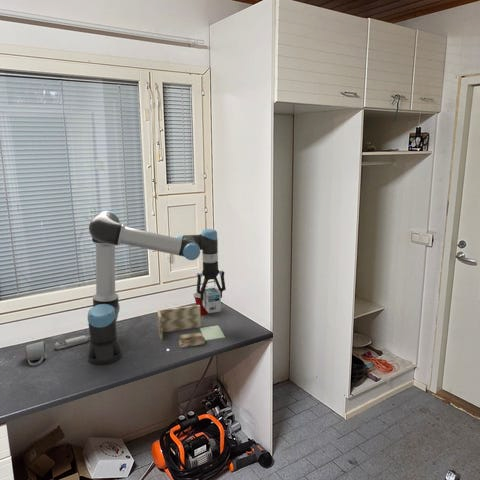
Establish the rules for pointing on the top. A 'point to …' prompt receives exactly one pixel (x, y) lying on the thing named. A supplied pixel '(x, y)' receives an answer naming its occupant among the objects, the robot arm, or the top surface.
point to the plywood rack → (178, 319)
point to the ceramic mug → (35, 352)
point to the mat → (212, 333)
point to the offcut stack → (191, 340)
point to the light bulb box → (212, 299)
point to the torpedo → (72, 342)
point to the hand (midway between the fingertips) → (211, 304)
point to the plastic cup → (200, 302)
